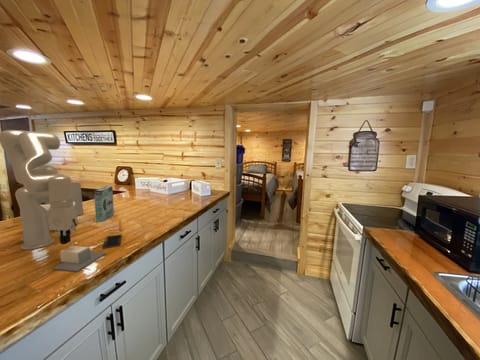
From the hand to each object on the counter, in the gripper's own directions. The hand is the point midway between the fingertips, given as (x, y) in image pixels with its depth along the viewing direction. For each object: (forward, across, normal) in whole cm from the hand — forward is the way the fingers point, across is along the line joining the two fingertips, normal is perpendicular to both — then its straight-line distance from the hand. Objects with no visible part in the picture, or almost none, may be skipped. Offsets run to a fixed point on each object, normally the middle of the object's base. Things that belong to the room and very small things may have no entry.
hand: (65, 242), depth 89 cm
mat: (+8, +7, 0) cm, 11 cm away
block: (+5, 0, 0) cm, 5 cm away
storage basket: (+9, -46, +32) cm, 58 cm away
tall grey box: (+10, -58, +57) cm, 82 cm away
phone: (+9, +7, +20) cm, 23 cm away
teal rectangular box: (+9, -29, +56) cm, 64 cm away
